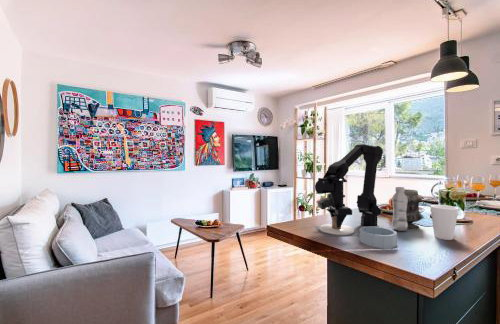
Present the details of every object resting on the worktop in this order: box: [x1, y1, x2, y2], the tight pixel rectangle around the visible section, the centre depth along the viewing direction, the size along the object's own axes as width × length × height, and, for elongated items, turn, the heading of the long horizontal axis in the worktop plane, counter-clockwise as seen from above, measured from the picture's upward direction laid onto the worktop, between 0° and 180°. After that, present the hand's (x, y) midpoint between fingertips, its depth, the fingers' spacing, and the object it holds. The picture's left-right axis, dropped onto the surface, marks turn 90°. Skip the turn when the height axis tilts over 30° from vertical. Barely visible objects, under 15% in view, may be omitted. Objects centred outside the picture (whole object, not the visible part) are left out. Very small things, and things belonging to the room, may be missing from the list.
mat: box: [313, 225, 360, 238], centre depth 116 cm, size 16×16×1 cm
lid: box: [319, 216, 355, 235], centre depth 116 cm, size 15×15×6 cm
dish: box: [359, 226, 398, 250], centre depth 101 cm, size 13×13×5 cm
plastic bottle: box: [391, 186, 408, 232], centre depth 118 cm, size 6×7×20 cm
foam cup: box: [430, 204, 459, 241], centre depth 108 cm, size 10×9×13 cm
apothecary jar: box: [404, 188, 423, 230], centre depth 125 cm, size 12×12×18 cm
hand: (336, 226), depth 116 cm, fingers closed on lid, 4 cm apart
